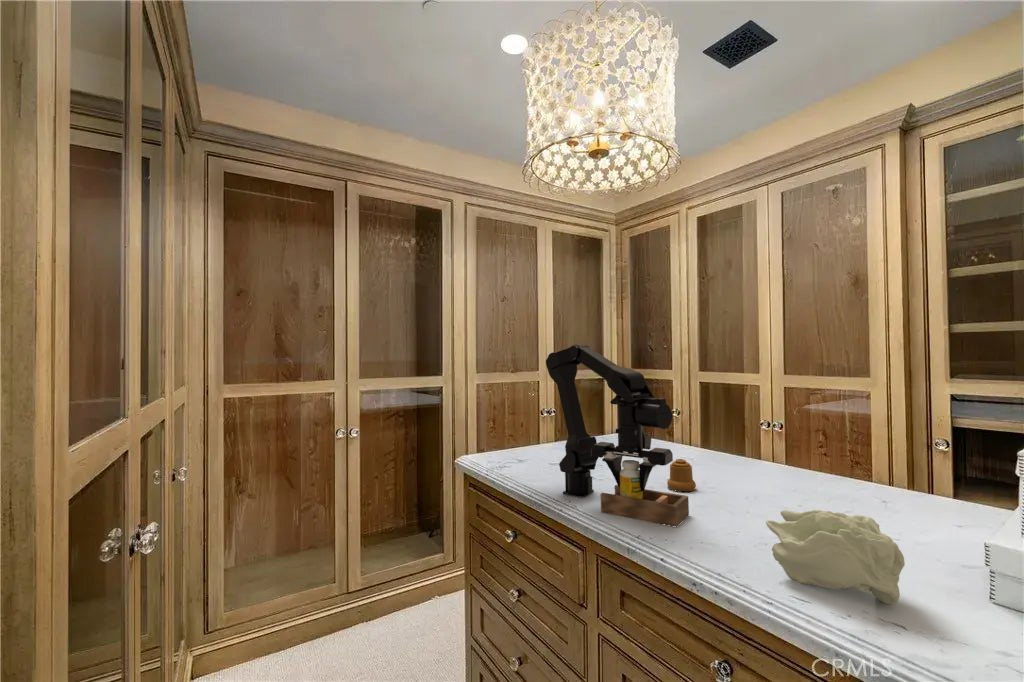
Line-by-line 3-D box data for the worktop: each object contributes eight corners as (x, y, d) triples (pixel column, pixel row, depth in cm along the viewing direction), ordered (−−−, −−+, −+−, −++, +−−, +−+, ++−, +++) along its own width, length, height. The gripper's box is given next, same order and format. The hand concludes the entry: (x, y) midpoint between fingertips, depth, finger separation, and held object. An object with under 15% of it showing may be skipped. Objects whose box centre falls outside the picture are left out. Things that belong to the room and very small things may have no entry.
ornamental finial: (692, 485, 136) (698, 493, 128) (665, 484, 137) (669, 492, 130) (692, 457, 136) (697, 463, 129) (664, 456, 137) (668, 462, 130)
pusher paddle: (653, 515, 109) (653, 502, 109) (663, 507, 114) (662, 495, 114) (658, 516, 108) (658, 503, 108) (668, 508, 113) (667, 496, 113)
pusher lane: (601, 512, 115) (600, 493, 115) (616, 502, 122) (616, 484, 122) (676, 527, 104) (675, 506, 104) (688, 515, 112) (688, 495, 112)
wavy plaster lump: (797, 620, 80) (745, 529, 84) (842, 582, 85) (791, 499, 90) (903, 630, 64) (833, 518, 69) (949, 583, 70) (882, 482, 74)
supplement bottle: (630, 496, 119) (630, 458, 119) (647, 502, 115) (647, 462, 115) (615, 500, 116) (614, 461, 116) (632, 506, 112) (631, 465, 112)
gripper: (679, 422, 116) (681, 486, 116) (608, 417, 128) (610, 475, 127) (663, 429, 107) (665, 498, 107) (589, 422, 119) (590, 486, 118)
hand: (631, 488), depth 115 cm, fingers closed on supplement bottle, 5 cm apart
